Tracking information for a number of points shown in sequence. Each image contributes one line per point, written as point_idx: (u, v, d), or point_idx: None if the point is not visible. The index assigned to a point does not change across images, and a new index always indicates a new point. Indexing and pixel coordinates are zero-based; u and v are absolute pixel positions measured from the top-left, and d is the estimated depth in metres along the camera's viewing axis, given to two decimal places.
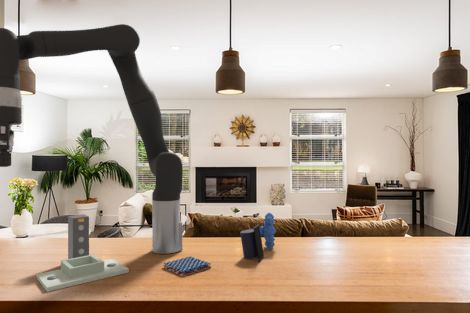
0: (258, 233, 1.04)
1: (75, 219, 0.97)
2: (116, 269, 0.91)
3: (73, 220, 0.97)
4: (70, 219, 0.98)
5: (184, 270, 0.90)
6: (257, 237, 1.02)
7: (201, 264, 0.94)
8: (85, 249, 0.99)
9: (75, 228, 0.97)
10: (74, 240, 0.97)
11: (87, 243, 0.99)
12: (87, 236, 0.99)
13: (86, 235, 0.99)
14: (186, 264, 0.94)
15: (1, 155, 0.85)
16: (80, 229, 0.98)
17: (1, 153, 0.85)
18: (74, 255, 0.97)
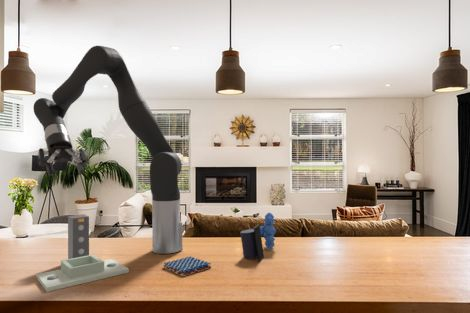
0: (258, 233, 1.04)
1: (75, 219, 0.97)
2: (116, 269, 0.91)
3: (73, 220, 0.97)
4: (70, 219, 0.98)
5: (184, 270, 0.90)
6: (257, 237, 1.02)
7: (201, 264, 0.94)
8: (85, 249, 0.99)
9: (74, 228, 0.97)
10: (74, 240, 0.97)
11: (87, 243, 0.99)
12: (87, 236, 0.99)
13: (86, 235, 0.99)
14: (186, 264, 0.94)
15: (47, 168, 1.07)
16: (80, 229, 0.98)
17: None
18: (74, 255, 0.97)
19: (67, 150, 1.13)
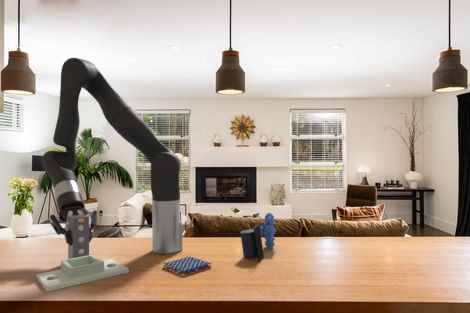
0: (258, 233, 1.04)
1: (75, 219, 0.97)
2: (116, 269, 0.91)
3: (73, 220, 0.97)
4: (70, 219, 0.98)
5: (185, 270, 0.90)
6: (257, 237, 1.02)
7: (201, 264, 0.94)
8: (85, 249, 0.99)
9: (75, 227, 0.97)
10: (74, 240, 0.97)
11: (87, 243, 0.99)
12: (87, 236, 0.99)
13: (86, 235, 0.99)
14: (186, 264, 0.94)
15: (65, 236, 0.98)
16: (80, 229, 0.98)
17: (64, 235, 0.98)
18: (74, 255, 0.97)
19: (79, 211, 1.03)
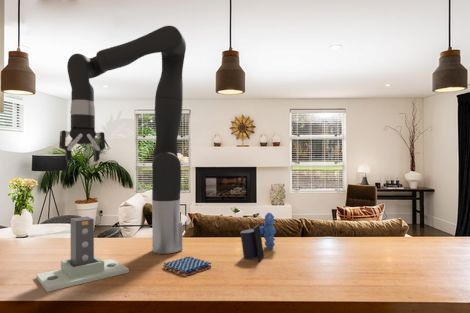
0: (258, 233, 1.04)
1: (78, 222, 0.88)
2: (116, 269, 0.91)
3: (76, 223, 0.87)
4: (73, 222, 0.89)
5: (186, 270, 0.90)
6: (257, 237, 1.02)
7: (202, 264, 0.94)
8: (89, 255, 0.89)
9: (78, 231, 0.87)
10: (77, 245, 0.87)
11: (92, 248, 0.90)
12: (92, 241, 0.90)
13: (90, 239, 0.90)
14: (186, 264, 0.94)
15: None
16: (84, 233, 0.89)
17: None
18: (77, 262, 0.87)
19: (88, 136, 1.14)
